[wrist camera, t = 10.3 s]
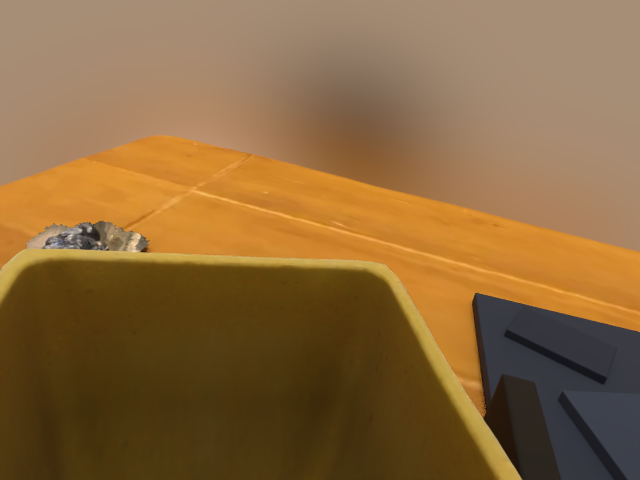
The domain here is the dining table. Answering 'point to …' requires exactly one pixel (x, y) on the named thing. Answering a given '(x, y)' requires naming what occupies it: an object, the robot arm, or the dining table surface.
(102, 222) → the grey mineral rock
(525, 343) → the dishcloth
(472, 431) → the flower pot
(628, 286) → the dining table surface
